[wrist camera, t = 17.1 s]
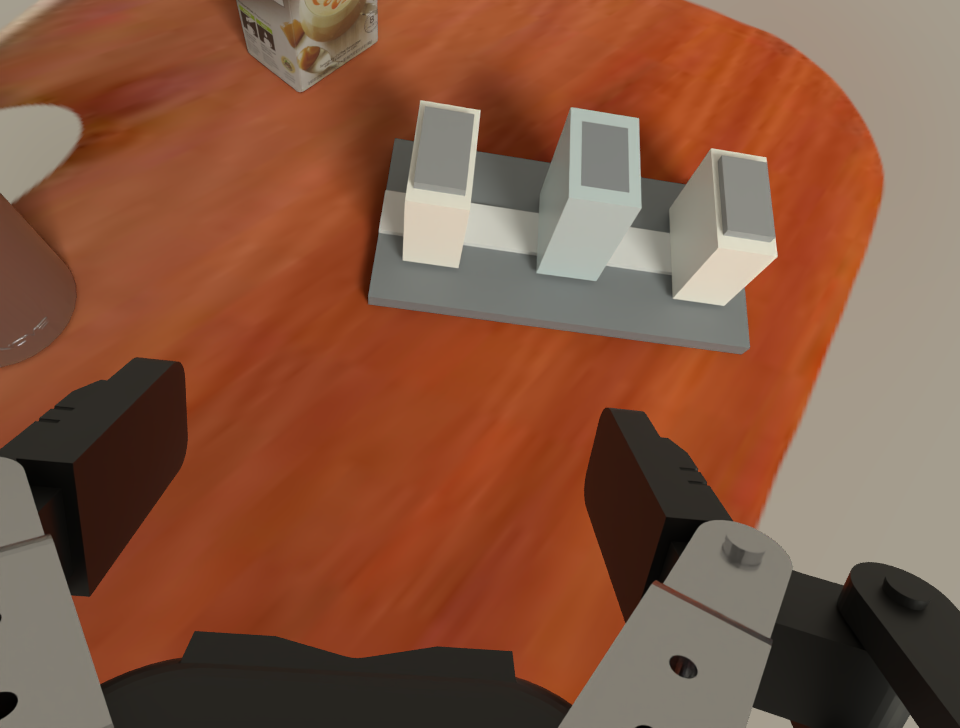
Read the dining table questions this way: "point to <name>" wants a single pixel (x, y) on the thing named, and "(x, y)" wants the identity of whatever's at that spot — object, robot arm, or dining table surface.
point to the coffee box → (307, 35)
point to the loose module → (589, 194)
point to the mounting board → (539, 297)
